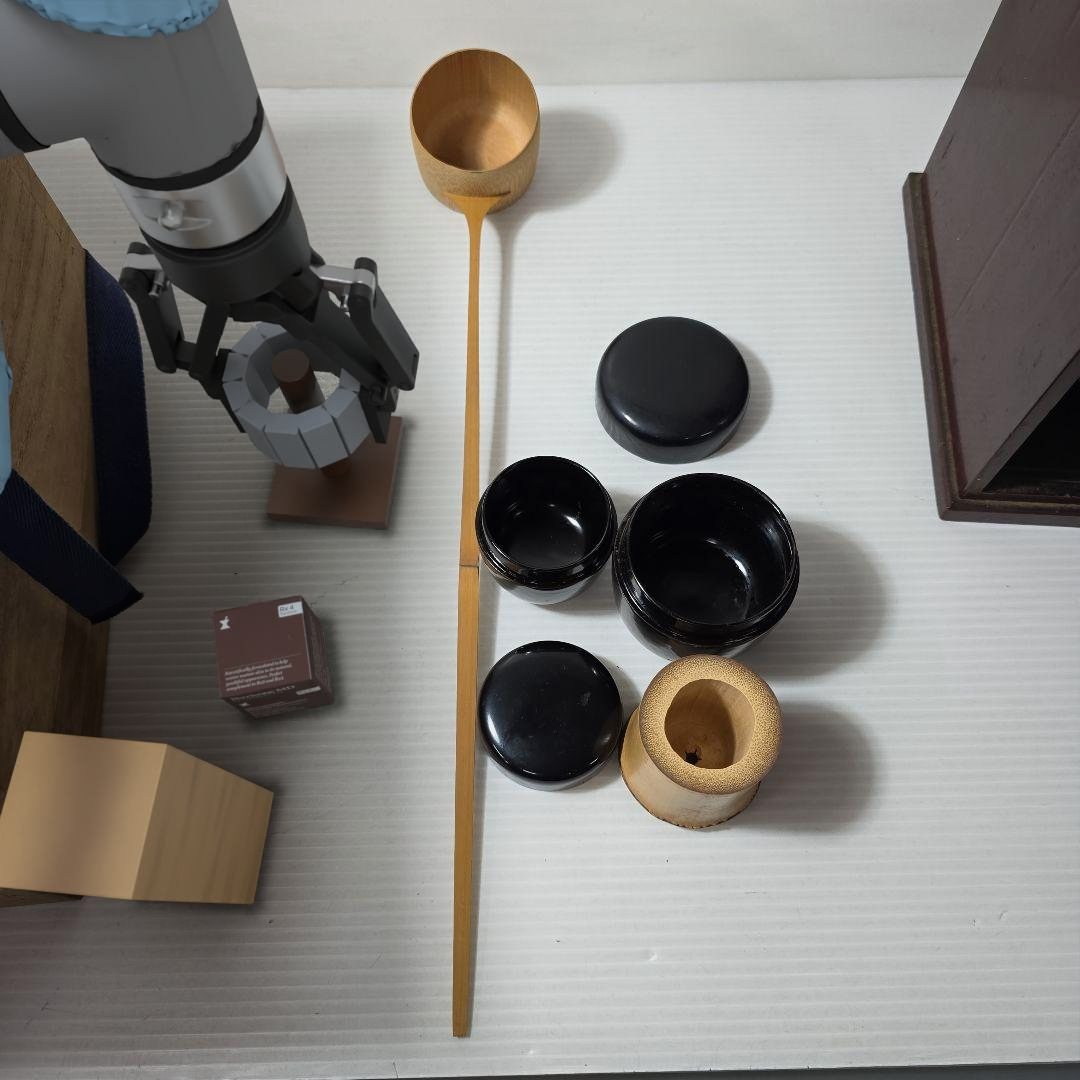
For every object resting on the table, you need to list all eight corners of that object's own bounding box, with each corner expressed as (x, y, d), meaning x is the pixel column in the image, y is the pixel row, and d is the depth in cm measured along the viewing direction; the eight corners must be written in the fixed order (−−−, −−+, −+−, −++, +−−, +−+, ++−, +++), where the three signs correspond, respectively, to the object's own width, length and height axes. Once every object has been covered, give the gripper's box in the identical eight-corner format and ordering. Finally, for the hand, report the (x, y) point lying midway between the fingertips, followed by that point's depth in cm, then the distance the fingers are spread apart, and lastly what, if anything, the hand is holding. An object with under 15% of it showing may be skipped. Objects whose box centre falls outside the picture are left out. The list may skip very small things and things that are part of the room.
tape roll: (234, 463, 64) (210, 427, 59) (260, 350, 67) (239, 308, 62) (365, 473, 63) (350, 438, 59) (384, 359, 67) (372, 317, 62)
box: (250, 721, 67) (216, 699, 60) (242, 640, 69) (209, 610, 62) (336, 704, 68) (312, 680, 61) (325, 623, 70) (301, 592, 63)
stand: (146, 894, 63) (-21, 885, 44) (171, 782, 66) (24, 730, 47) (253, 904, 63) (131, 900, 44) (274, 792, 65) (167, 743, 47)
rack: (271, 520, 73) (203, 423, 58) (292, 416, 76) (234, 300, 62) (387, 530, 72) (349, 434, 58) (404, 425, 76) (371, 310, 61)
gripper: (-33, 242, 45) (152, 457, 66) (423, 274, 44) (463, 481, 65) (14, 119, 47) (177, 363, 68) (444, 147, 47) (475, 385, 68)
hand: (316, 421), depth 67 cm, fingers closed on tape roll, 9 cm apart
